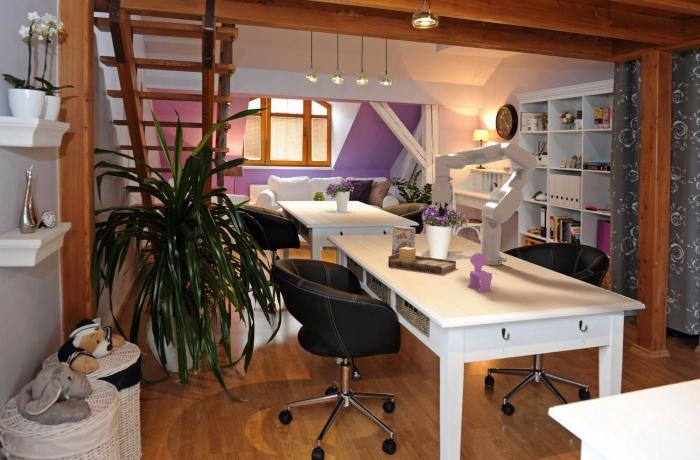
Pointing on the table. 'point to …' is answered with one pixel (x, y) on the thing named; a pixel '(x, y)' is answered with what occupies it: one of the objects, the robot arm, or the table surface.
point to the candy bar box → (402, 238)
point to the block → (407, 254)
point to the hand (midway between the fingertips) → (441, 216)
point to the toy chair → (480, 273)
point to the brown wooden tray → (423, 264)
